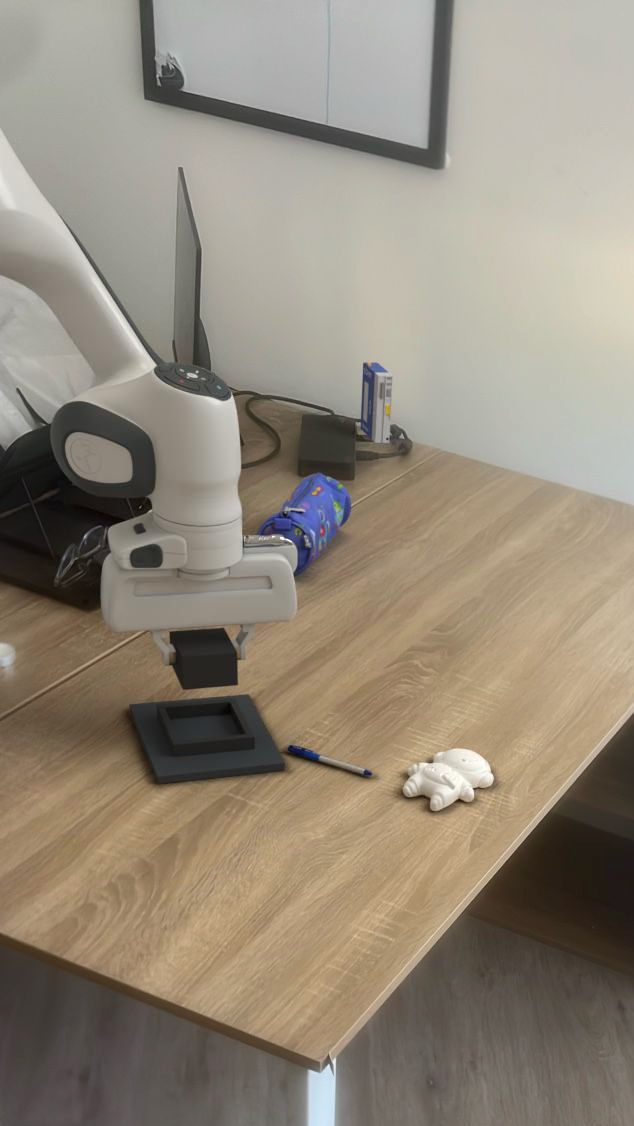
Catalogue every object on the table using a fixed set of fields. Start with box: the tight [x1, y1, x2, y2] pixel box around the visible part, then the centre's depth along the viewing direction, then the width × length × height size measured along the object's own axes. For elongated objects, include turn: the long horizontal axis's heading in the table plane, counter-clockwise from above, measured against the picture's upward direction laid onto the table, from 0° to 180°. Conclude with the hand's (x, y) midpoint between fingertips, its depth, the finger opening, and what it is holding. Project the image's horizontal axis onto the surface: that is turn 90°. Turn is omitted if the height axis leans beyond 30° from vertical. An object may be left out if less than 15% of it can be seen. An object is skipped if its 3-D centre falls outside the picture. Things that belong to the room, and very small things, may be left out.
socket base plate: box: [128, 693, 286, 785], centre depth 145 cm, size 14×16×3 cm
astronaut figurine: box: [402, 748, 495, 812], centre depth 144 cm, size 9×12×3 cm
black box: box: [168, 627, 239, 691], centre depth 139 cm, size 6×6×4 cm
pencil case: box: [256, 472, 352, 576], centre depth 186 cm, size 22×9×10 cm, turn 171°
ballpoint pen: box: [286, 744, 373, 777], centre depth 145 cm, size 10×1×1 cm, turn 72°
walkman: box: [360, 361, 394, 444], centre depth 230 cm, size 8×3×12 cm, turn 27°
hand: (203, 660), depth 139 cm, fingers closed on black box, 6 cm apart
